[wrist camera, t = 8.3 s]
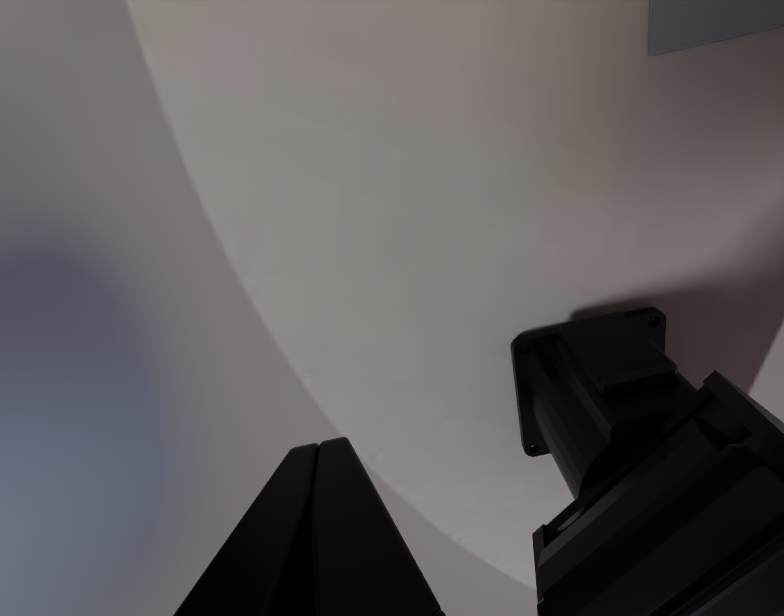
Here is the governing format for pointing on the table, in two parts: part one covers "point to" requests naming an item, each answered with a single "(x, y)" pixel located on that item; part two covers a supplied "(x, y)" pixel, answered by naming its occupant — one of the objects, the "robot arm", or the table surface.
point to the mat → (708, 21)
